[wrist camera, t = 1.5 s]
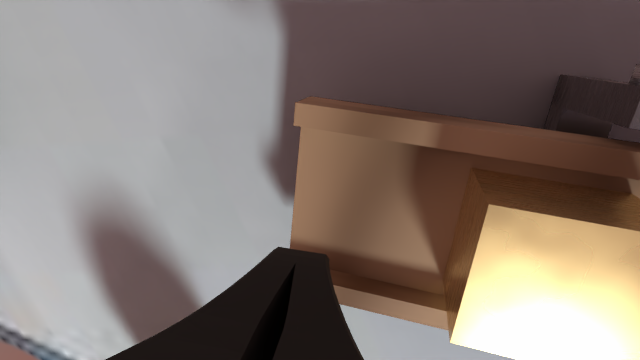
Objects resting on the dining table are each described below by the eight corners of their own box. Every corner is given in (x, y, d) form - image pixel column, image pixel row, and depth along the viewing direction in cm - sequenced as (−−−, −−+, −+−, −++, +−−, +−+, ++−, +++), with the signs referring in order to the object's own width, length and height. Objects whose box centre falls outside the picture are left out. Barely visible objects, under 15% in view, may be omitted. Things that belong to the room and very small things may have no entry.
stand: (617, 64, 15) (730, 73, 10) (526, 317, 19) (577, 404, 15) (565, 59, 15) (653, 64, 11) (486, 311, 19) (524, 395, 15)
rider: (631, 193, 12) (709, 243, 9) (583, 310, 14) (634, 388, 11) (471, 167, 13) (488, 204, 10) (442, 279, 15) (450, 342, 12)
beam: (1038, 199, 11) (1166, 229, 9) (876, 397, 13) (950, 452, 12) (310, 96, 15) (295, 102, 13) (294, 264, 17) (279, 289, 15)
